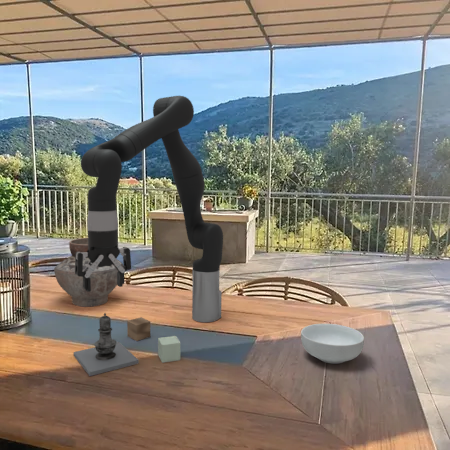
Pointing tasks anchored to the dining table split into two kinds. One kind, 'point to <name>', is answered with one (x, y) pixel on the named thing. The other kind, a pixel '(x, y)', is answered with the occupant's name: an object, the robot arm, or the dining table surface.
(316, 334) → the cereal bowl
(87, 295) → the ceramic pot
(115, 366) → the serving board
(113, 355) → the salt shaker
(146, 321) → the walnut block
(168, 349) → the sage block
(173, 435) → the dining table surface
